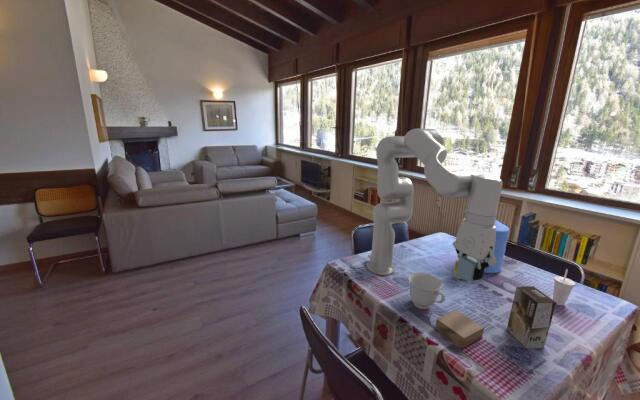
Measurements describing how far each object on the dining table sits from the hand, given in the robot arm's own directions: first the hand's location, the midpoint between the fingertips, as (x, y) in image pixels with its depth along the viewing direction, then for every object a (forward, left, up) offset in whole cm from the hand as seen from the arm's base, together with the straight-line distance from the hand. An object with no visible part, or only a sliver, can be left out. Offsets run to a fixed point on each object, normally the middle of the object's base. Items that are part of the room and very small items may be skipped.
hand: (469, 274), depth 89 cm
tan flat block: (0, 0, -22) cm, 22 cm away
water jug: (-30, +49, -21) cm, 62 cm away
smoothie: (+2, +51, -21) cm, 56 cm away
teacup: (-15, -1, -21) cm, 26 cm away
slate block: (0, 0, -1) cm, 1 cm away
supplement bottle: (-26, +30, -21) cm, 46 cm away
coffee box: (+10, +18, -21) cm, 30 cm away
